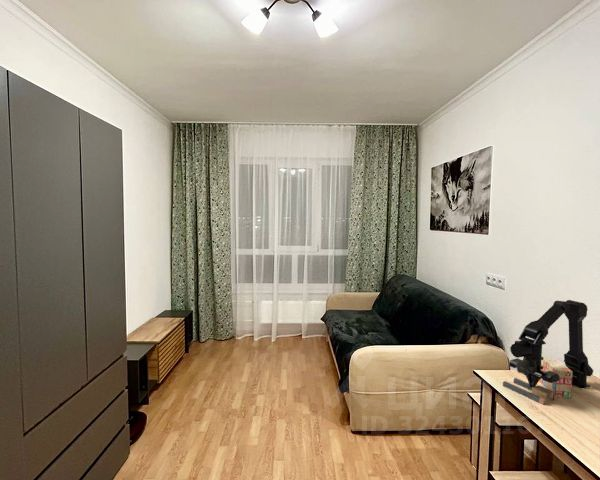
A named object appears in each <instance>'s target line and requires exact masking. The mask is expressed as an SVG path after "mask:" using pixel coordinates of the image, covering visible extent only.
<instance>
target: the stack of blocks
mask: <svg viewBox="0 0 600 480" xmlns="http://www.w3.org/2000/svg"><path fill="white" fill-rule="evenodd" d="M541 366H543V369H541V370H542V371H545V372H547V371H552V372H554V373H557V374H558V375H559V381H556V382H553V383H549V382H547V381H544V380H543V379H542V378H541V379H540V380H539V383H541V384H542V385H543V387H544V388H546V389H549V390H551V391H553V393H555V394H557V398H560V397H564V398H565V399H572V386H573V385H572V374H573V371H571V370H570V369H569V368H568V367H567V366H566V365H565V363H563V362H561V361H560V360H558V359H552V358H550V359H549V358H548V357H544V358H543V360H541Z"/></svg>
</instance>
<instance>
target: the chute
mask: <svg viewBox="0 0 600 480" xmlns="http://www.w3.org/2000/svg"><path fill="white" fill-rule="evenodd" d="M513 383H514V384H512V383H510V382H508V381H506V380H505V381H502V387H504V388H506V389H509V390H510V391H513V392H515V393H517V394H519V395H521V396H523V397H525V398H527V397H528V399H530V400H532V401H534V402H536V403H539V404H540V405H546V403H545V401H546V398H544V397H539V396H537V395H535V394H533V393H531V392H532V389H531V388H530V385H529V382H526V381H524V380H521V379H519V378H517V377H514V378H513ZM517 385H518V386H517ZM519 386H520V387H519ZM522 387H523V388H522ZM524 388H525V389H524ZM526 389H527V390H526ZM528 390H529V391H528ZM530 391H531V392H530ZM557 398H558V397H557V394H555V393H553V401H554V402H555V401H557Z"/></svg>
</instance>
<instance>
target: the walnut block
mask: <svg viewBox="0 0 600 480" xmlns="http://www.w3.org/2000/svg"><path fill="white" fill-rule="evenodd" d="M530 393H533V394H535V395H537V396H539V397H544V398H546V401H545V404H547V403H550V402H553V401H554V400H553V391H551V390H549V389H547V388H546V387H545V386H542V385H539V384H537V385H536V386H535V387H532V391H531V392H530Z"/></svg>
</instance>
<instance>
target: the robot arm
mask: <svg viewBox="0 0 600 480" xmlns="http://www.w3.org/2000/svg"><path fill="white" fill-rule="evenodd" d="M563 314H564V315H565V317H566V318H567V320H568V344H569V345H568V346H569V350H568V351H567V352H566V353H564V354H563V358H564V359H563V362H564V365H565V366H567V367H568V368H569V369H570V370H571V371H573V374H572V386H574V387H576V388H578V389H582V390H584V389H586V388H588V387H591V384H588V383H587V380H588V379H587V378H588V377H592V376H593V375H594V369H593V368H592V367H591V366H590V364H589V359H588V356H587V355H586V354H585V352H584V343H583V341H584V339H583V338H584V333H583V321H584V320H585V318H586V317H587V315H588V305H587V304H586V303H585V302H580V301H576V300H572V299H567V300H566V301H565V300H555V301H553V305H551V307H549V308H548V309H547V310H546V312H544V313H543V314H542V315H541V317H539V318H538V319H537V320H534V321H531V322H529V323H528V324H527V325H525V326H524V328H523V330H522V332H521V333H520V335H519V336H518V340H514V343H513V344H511V346H510V347H509V348H510V349H509V351H510V353H511V354H512V356H513V357H515V358H514V359H510V360H509V361H508V366H509V367H510V368H513V369H516V370H517V373H519V374H522V375H524V376H525V377H526V380H527V383H529V385H530V388H531V389H532V387H535V386H538V383H540V381H539V380H540V379H541V378H542V379H543V380H544V381H547V382H549V383H553V382H556V381H559V375H558V374H557V373H554V372H552V371H547V372H545V371H542V370H541V369H543V366H541V360H543V358H545V357H543V355H542V353H543V345H546V344H547V342H546V341H544V340H545V339H546V337H547V336H548V335H549V329H550V328H551V326H553V325H554V324H555V323H556V321H558V319H560V317H562V315H563ZM520 358H522V359H520Z"/></svg>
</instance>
